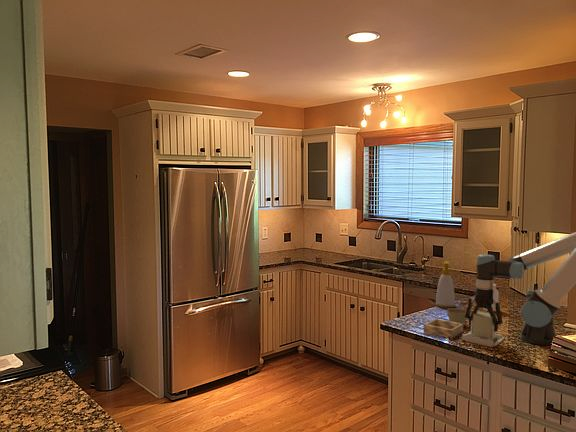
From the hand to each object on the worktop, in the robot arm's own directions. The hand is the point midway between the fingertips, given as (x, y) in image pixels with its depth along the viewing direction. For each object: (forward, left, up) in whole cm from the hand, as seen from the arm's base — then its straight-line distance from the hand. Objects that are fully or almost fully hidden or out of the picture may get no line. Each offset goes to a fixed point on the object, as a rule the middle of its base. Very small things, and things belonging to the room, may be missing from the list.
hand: (482, 335), depth 222 cm
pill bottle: (+14, -57, -2) cm, 59 cm away
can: (0, 0, -2) cm, 2 cm away
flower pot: (+18, -15, -2) cm, 23 cm away
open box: (+18, +2, -1) cm, 18 cm away
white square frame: (0, 0, -1) cm, 1 cm away
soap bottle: (+38, -49, -2) cm, 62 cm away
